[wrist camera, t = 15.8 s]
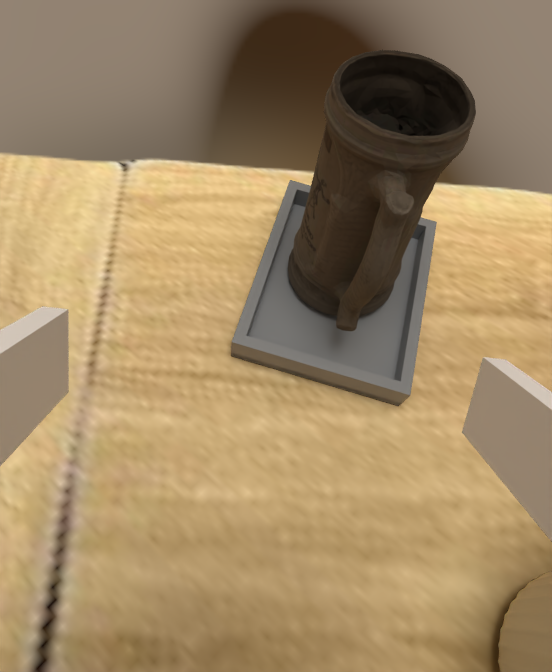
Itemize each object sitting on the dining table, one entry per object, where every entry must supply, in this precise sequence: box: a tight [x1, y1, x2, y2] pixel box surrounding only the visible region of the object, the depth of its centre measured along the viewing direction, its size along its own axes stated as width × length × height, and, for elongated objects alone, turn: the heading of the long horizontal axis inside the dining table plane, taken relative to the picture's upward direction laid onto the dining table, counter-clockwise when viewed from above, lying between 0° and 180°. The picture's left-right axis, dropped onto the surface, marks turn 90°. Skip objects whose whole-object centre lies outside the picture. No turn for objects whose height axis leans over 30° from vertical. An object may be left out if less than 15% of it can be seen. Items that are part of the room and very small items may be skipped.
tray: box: [231, 180, 437, 406], centre depth 46 cm, size 16×20×3 cm
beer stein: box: [288, 50, 476, 331], centre depth 38 cm, size 15×11×20 cm
